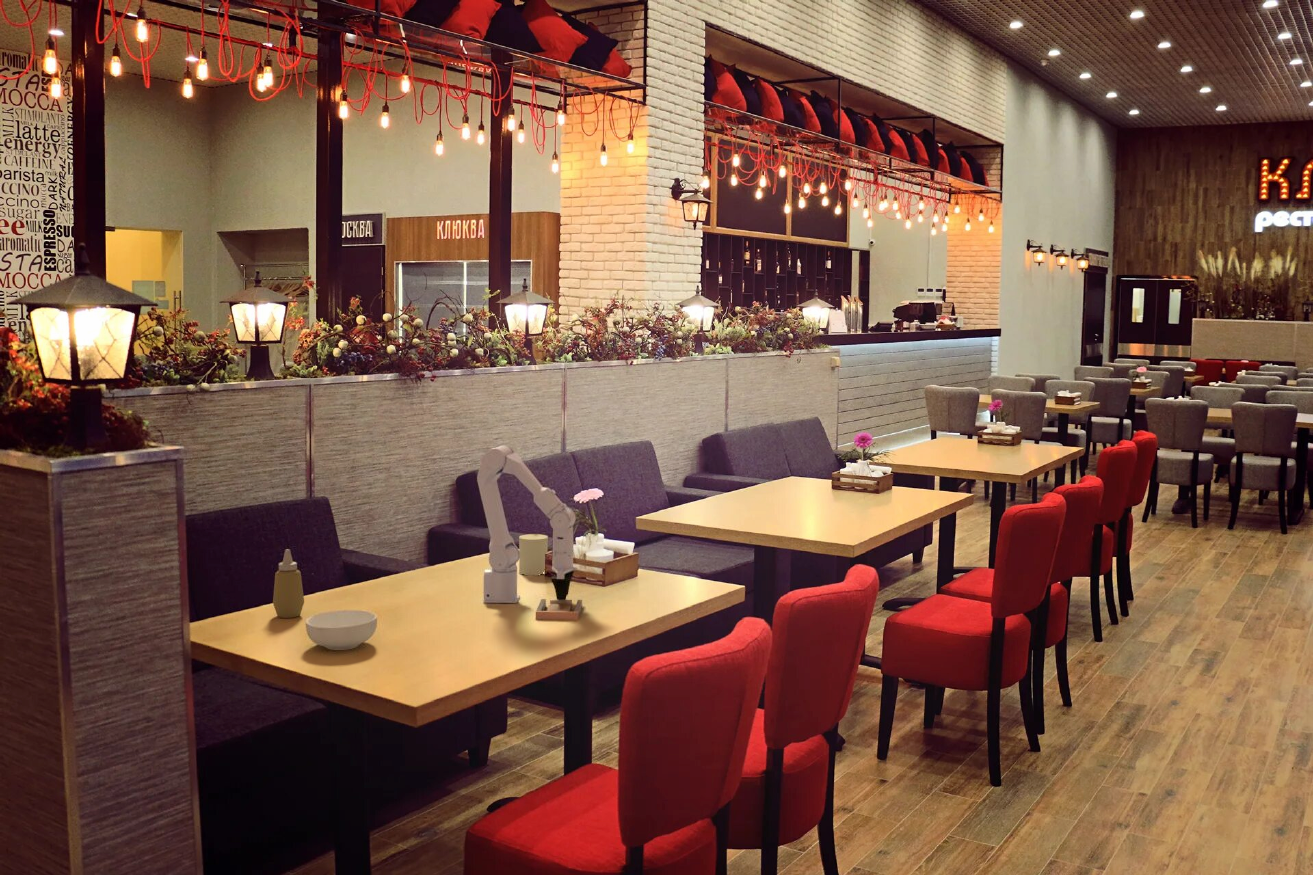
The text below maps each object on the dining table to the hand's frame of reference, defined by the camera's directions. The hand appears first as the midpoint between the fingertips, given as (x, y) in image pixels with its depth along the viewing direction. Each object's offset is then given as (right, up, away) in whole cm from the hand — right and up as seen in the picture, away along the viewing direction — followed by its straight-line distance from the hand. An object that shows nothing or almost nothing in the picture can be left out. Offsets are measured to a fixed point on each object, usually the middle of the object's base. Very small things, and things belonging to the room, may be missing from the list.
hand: (562, 598), depth 329 cm
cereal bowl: (-51, -6, -43) cm, 67 cm away
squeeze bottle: (-72, -3, -16) cm, 74 cm away
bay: (0, -3, -9) cm, 10 cm away
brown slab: (0, -3, -9) cm, 9 cm away
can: (-12, +3, +40) cm, 42 cm away
